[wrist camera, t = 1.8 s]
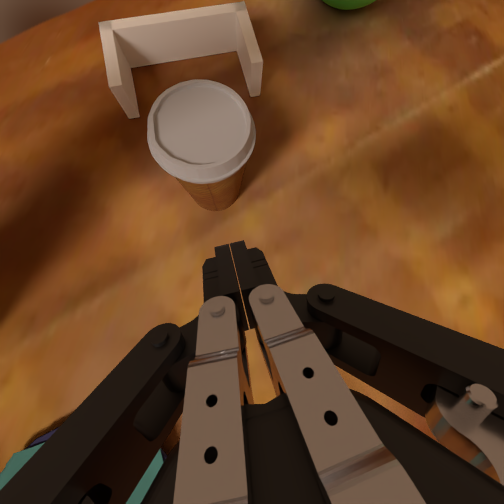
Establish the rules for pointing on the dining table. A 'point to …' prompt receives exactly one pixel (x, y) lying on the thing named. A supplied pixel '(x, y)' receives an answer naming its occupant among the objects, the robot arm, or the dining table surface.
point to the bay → (177, 45)
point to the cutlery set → (25, 455)
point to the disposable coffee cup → (202, 139)
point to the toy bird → (348, 3)
